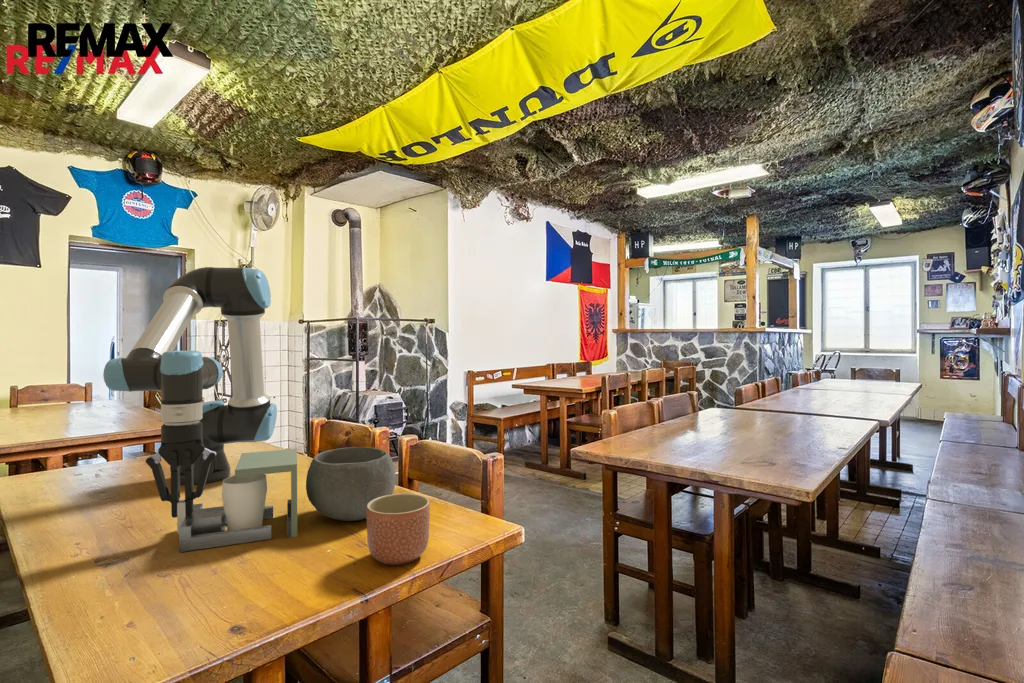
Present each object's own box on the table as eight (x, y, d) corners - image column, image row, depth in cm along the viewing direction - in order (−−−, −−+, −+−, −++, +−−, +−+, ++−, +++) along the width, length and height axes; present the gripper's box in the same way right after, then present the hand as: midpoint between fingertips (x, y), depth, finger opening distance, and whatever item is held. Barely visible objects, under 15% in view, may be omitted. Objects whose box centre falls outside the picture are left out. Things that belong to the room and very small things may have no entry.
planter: (352, 565, 97) (352, 509, 97) (390, 540, 109) (390, 490, 108) (408, 576, 92) (408, 517, 92) (441, 549, 104) (441, 497, 104)
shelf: (242, 519, 120) (241, 453, 120) (296, 512, 125) (296, 448, 125) (235, 545, 106) (234, 469, 105) (297, 536, 111) (297, 464, 110)
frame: (192, 526, 116) (192, 504, 116) (273, 515, 123) (273, 495, 123) (179, 552, 102) (179, 527, 102) (270, 538, 109) (270, 515, 109)
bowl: (291, 515, 123) (290, 454, 123) (367, 495, 139) (367, 441, 138) (333, 539, 109) (332, 470, 109) (412, 514, 124) (412, 454, 124)
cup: (247, 541, 108) (247, 485, 108) (212, 537, 110) (211, 482, 110) (276, 525, 117) (275, 474, 117) (243, 522, 119) (242, 471, 119)
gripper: (140, 427, 102) (141, 542, 103) (214, 423, 107) (214, 532, 108) (150, 421, 109) (151, 529, 110) (219, 417, 114) (219, 520, 115)
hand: (182, 530), depth 109 cm, fingers closed
